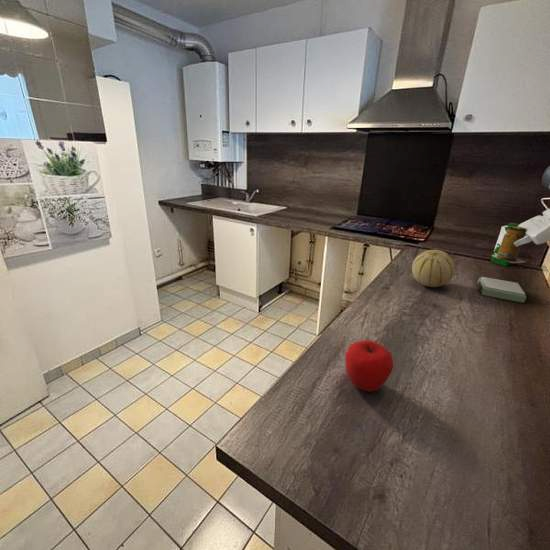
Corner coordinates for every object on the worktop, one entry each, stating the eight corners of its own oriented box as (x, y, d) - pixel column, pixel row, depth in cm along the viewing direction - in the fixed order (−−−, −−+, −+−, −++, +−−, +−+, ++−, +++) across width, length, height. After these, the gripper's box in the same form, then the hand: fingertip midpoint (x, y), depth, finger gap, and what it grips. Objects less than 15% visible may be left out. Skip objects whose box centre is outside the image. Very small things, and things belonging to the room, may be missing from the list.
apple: (335, 387, 64) (341, 347, 60) (350, 364, 72) (356, 326, 67) (380, 409, 59) (390, 367, 55) (391, 381, 67) (401, 342, 62)
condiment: (504, 255, 115) (515, 225, 110) (526, 262, 107) (539, 230, 102) (490, 255, 113) (501, 225, 108) (511, 263, 105) (524, 231, 100)
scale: (515, 290, 115) (518, 282, 114) (524, 303, 105) (527, 294, 104) (476, 283, 120) (478, 275, 119) (480, 294, 111) (483, 286, 109)
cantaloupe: (447, 282, 120) (457, 247, 114) (450, 296, 108) (462, 258, 102) (409, 275, 126) (416, 241, 120) (407, 288, 113) (416, 251, 107)
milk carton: (487, 261, 146) (501, 222, 138) (496, 258, 150) (510, 220, 142) (507, 267, 139) (522, 226, 131) (516, 264, 143) (531, 224, 135)
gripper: (541, 207, 109) (501, 229, 117) (561, 217, 92) (513, 242, 100) (551, 221, 109) (510, 242, 117) (574, 233, 92) (524, 256, 100)
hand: (512, 242), depth 108 cm, fingers closed on condiment, 6 cm apart
